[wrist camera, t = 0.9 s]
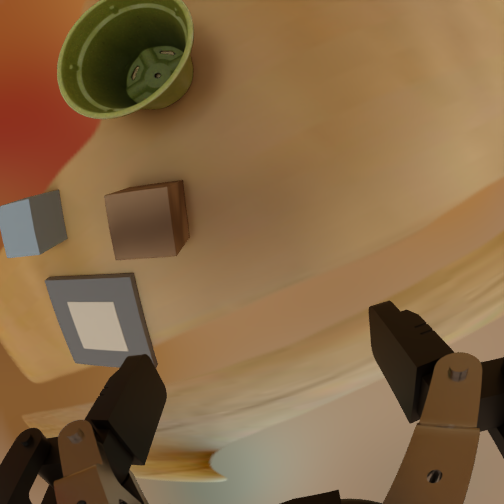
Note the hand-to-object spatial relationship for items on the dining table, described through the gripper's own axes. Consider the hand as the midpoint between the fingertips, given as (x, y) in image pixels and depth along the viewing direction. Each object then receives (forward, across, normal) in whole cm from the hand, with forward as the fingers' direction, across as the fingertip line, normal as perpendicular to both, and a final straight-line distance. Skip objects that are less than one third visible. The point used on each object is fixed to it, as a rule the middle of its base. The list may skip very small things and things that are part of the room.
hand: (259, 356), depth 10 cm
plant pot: (+16, +4, -16) cm, 23 cm away
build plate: (+17, +18, +4) cm, 25 cm away
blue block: (+16, +20, -8) cm, 27 cm away
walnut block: (+16, +8, -5) cm, 19 cm away
